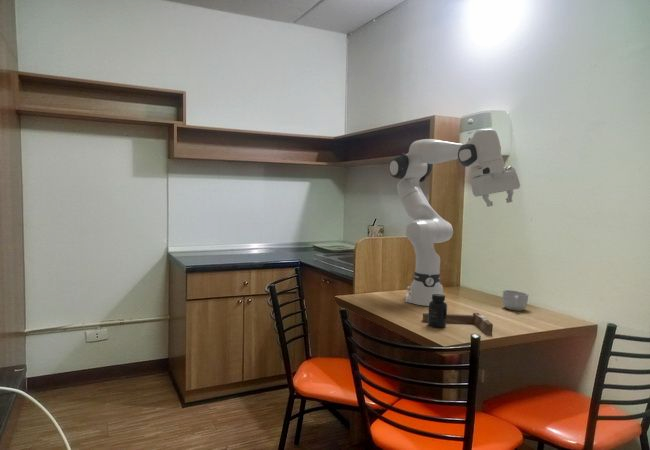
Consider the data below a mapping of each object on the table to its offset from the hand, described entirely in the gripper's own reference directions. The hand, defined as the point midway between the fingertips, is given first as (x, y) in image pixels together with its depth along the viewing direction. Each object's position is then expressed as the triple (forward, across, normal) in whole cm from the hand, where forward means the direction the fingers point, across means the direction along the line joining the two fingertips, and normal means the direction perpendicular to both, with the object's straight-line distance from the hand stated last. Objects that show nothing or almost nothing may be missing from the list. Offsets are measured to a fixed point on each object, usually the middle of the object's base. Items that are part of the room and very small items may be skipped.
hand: (500, 204), depth 176 cm
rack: (+43, +25, -8) cm, 50 cm away
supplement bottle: (+41, +32, -10) cm, 53 cm away
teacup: (+49, -19, -27) cm, 59 cm away
